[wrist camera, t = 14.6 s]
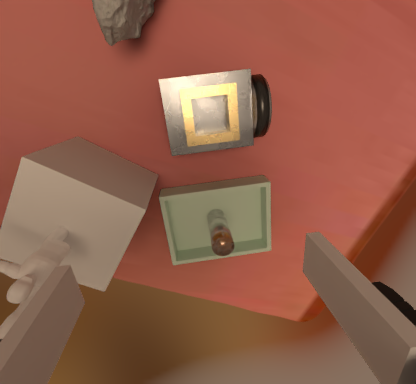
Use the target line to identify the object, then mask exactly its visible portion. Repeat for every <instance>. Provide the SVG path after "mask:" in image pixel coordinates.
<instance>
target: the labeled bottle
mask: <svg viewBox="0 0 416 384" xmlns="http://www.w3.org/2000/svg"><path fill="white" fill-rule="evenodd" d="M207 219H208V226H209V232H210V238H211V245H212V250H213V252H214V253H215V254H216V255H218V256H227V255H229V254H230V253H232V251H233V250H234V241H233V238H232V235H231V232H230V229H229V226H228V223H227V219H226V216H225V213H224V212H223V211H222V210H219V209H214V210H212V211H210V212H209V214H208V216H207Z"/></svg>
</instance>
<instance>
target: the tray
mask: <svg viewBox="0 0 416 384" xmlns="http://www.w3.org/2000/svg"><path fill="white" fill-rule="evenodd" d="M159 201H160V206H161V211H162V215H163V220H164V225H165V230H166V234H167V239H168V244H169V249H170V254H171V258H172V263H173V265H179V264H185V263H192V262H199V261H205V260H212V259H219V258H225V257H232V256H238V255H245V254H252V253H258V252H265V251H271V188H270V181H269V180H268V179H267V178H266V177H265V176H264V175H259V176H252V177H245V178H238V179H230V180H223V181H216V182H208V183H201V184H194V185H186V186H179V187H172V188H164V189H161V191H160V194H159ZM214 209H219V210H222V211H223V212H224V213H225V216H226V219H227V223H228V226H229V229H230V232H231V235H232V238H233V241H234V250H233V251H232V253H230V254H229V255H227V256H218V255H216V254H215V253H214V252H213V250H212V245H211V238H210V232H209V226H208V219H207V216H208V214H209V212H210V211H212V210H214Z"/></svg>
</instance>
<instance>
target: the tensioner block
mask: <svg viewBox="0 0 416 384" xmlns="http://www.w3.org/2000/svg"><path fill="white" fill-rule="evenodd" d="M159 85H160V91H161V96H162V102H163V108H164V114H165V119H166V125H167V131H168V137H169V142H170V148H171V154H172V156H175V155H183V154H191V153H198V152H206V151H213V150H221V149H229V148H236V147H244V146H252V145H254V142H253V138H255V137H262V136H264V135H265V134H266V133H267V131H268V129H269V127H270V122H271V114H272V102H271V93H270V88H269V85H268V82H267V80H266V79H265V78H264V77H263V76H262V75H261V74H257V75H251V69H245V70H236V71H228V72H219V73H211V74H202V75H194V76H185V77H177V78H168V79H160V80H159Z"/></svg>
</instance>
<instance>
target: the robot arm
mask: <svg viewBox="0 0 416 384" xmlns="http://www.w3.org/2000/svg"><path fill="white" fill-rule="evenodd" d="M303 273H304V274H305V275H306V277H307V278H308V280H309V281H310V283H311V284H312V285H313V287H314V288H315V290H316V291H317V293H318V294H319V296H320V297H321V298H322V300H323V301H324V303H325V304H326V306H327V307H328V309H329V310H330V311H331V313H332V314H333V316H334V317H335V319H336V320H337V321H338V323H339V324H340V326H341V327H342V329H343V330H344V332H345V333H346V334H347V336H348V337H349V339H350V340H351V342H352V343H353V344H354V346H355V347H356V349H357V350H358V352H359V353H360V355H361V356H362V357H363V359H364V360H365V362H366V363H367V365H368V366H369V368H370V369H371V370H372V372H373V373H374V375H375V376H376V378H377V379H378V381H379V382H380V383H381V384H416V310H414V309H413V307H412V306H411V305H409V303H407V302H405V301H404V299H403V298H402V297H401V296H400V295H399V294H398V293H396V292H395V291H394V290H393V289H391V288H390V287H388V286H386V285H385V284H383V283H381V282H374V283H371V282H370V281H369V280H368V279H367V278H366V277H365V276H364V275H363V274H362V273H361V272H360V271H359V270H357V269H356V268H355V267H354V266H353V265H352V264H351V263H350V262H349V261H348V260H347V259H346V258H345V257H344V256H343V255H342V254H341V253H340V252H339V251H338V250H337V249H336V248H335V247H334V246H333V245H332V244H331V243H330V242H329V241H328V240H327V239H326V238H325V237H324V236H323V235H322V234H321V233H320V232H314V233H306V242H305V252H304V263H303ZM84 304H85V301H84V299H83V296H82V294H81V291H80V288H79V286H78V283H77V281H76V278H75V275H74V273H73V270H72V268H71V265H65V266H58V267H55V268H54V270H53V271H52V272H51V274H50V275H49V277H48V278H47V279H46V281H45V282H44V283H43V285H42V286H41V287H40V289H39V290H38V291H37V293H36V294H35V296H34V297H33V298H32V300H31V301H30V302H29V304H28V305H27V306H26V308H25V309H24V311H23V312H22V313H21V315H20V316H19V317H18V319H17V320H16V321H15V323H14V324H13V325H12V327H11V328H10V330H9V331H8V332H7V334H6V335H5V336H4V338H3V339H0V384H47V383H48V381H49V379H50V377H51V375H52V372H53V371H54V368H55V366H56V364H57V362H58V360H59V357H60V356H61V353H62V351H63V349H64V347H65V344H66V343H67V340H68V338H69V336H70V334H71V332H72V330H73V327H74V325H75V323H76V321H77V319H78V316H79V315H80V313H81V310H82V308H83V306H84Z"/></svg>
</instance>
